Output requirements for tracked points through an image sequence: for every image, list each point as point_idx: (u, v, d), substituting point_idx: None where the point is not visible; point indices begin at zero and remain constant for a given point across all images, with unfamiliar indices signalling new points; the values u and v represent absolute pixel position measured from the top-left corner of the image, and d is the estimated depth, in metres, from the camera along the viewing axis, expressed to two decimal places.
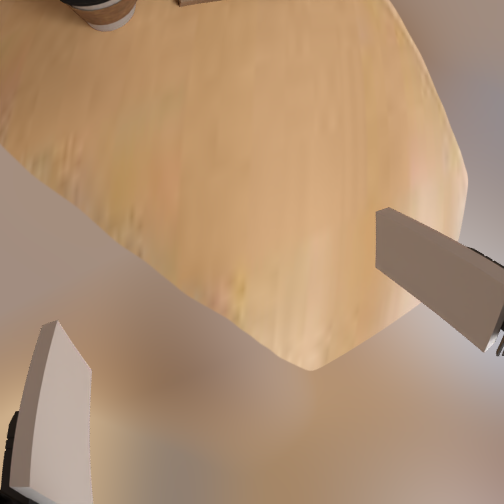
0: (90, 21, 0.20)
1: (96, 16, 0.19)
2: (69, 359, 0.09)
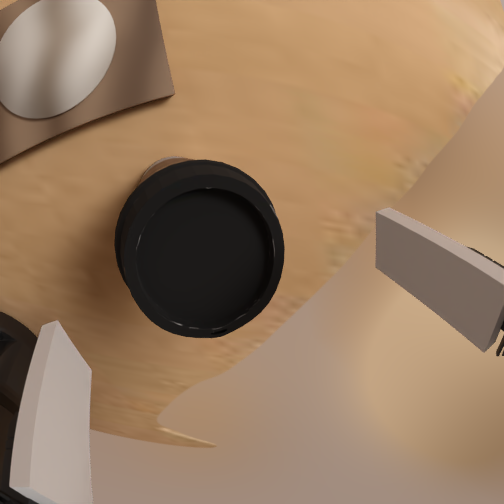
0: None
1: None
2: (69, 359, 0.09)
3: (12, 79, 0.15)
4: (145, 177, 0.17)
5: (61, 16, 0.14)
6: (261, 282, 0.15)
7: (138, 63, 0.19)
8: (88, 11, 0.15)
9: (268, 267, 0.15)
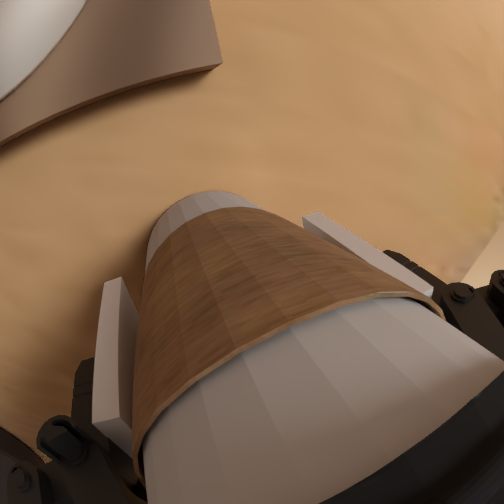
0: None
1: None
2: (132, 313, 0.11)
3: None
4: (178, 320, 0.05)
5: None
6: None
7: None
8: None
9: None
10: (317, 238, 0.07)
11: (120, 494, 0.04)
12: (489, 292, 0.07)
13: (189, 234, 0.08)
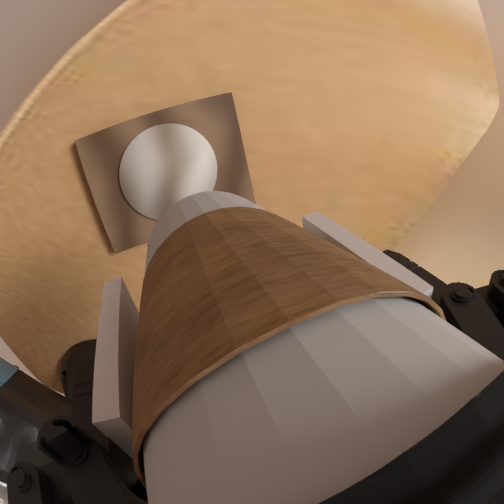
0: None
1: None
2: (132, 312, 0.11)
3: (139, 190, 0.32)
4: (178, 320, 0.05)
5: (174, 144, 0.31)
6: None
7: (232, 184, 0.36)
8: (195, 143, 0.32)
9: None
10: (317, 238, 0.07)
11: (120, 494, 0.04)
12: (489, 292, 0.07)
13: (189, 234, 0.08)
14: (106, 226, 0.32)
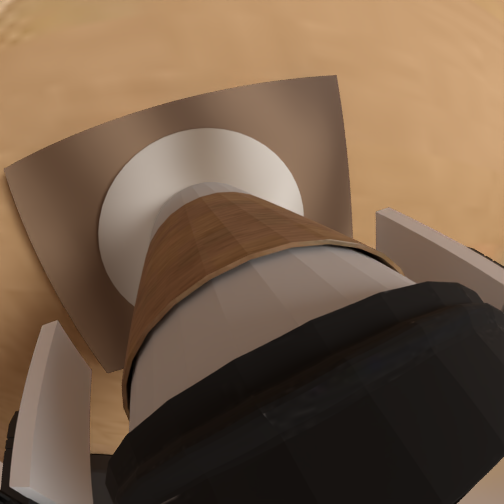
0: None
1: None
2: (69, 359, 0.09)
3: None
4: (168, 268, 0.06)
5: (220, 177, 0.15)
6: None
7: None
8: (264, 175, 0.15)
9: None
10: (293, 212, 0.08)
11: None
12: None
13: (185, 212, 0.10)
14: (85, 334, 0.16)
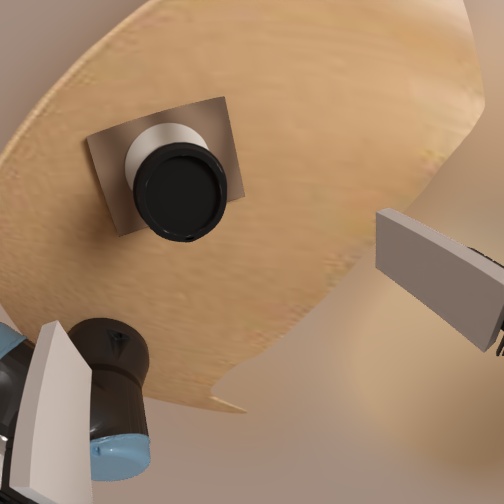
0: None
1: None
2: (69, 359, 0.09)
3: None
4: None
5: (173, 141, 0.35)
6: (215, 210, 0.26)
7: None
8: (191, 140, 0.36)
9: (218, 201, 0.26)
10: None
11: None
12: None
13: None
14: (112, 212, 0.37)
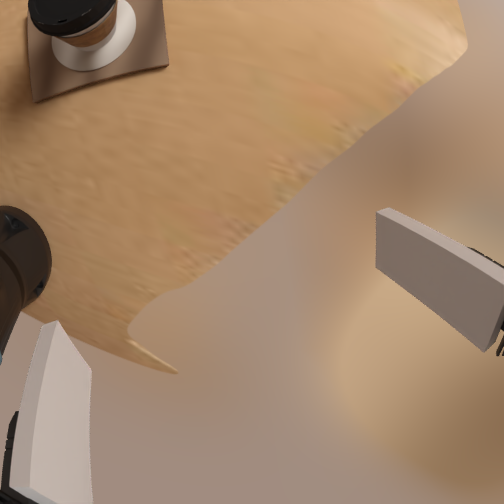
0: (111, 26, 0.23)
1: (116, 10, 0.20)
2: (69, 359, 0.09)
3: (65, 44, 0.25)
4: None
5: None
6: None
7: (148, 43, 0.29)
8: (119, 8, 0.25)
9: None
10: None
11: None
12: None
13: None
14: (32, 77, 0.26)
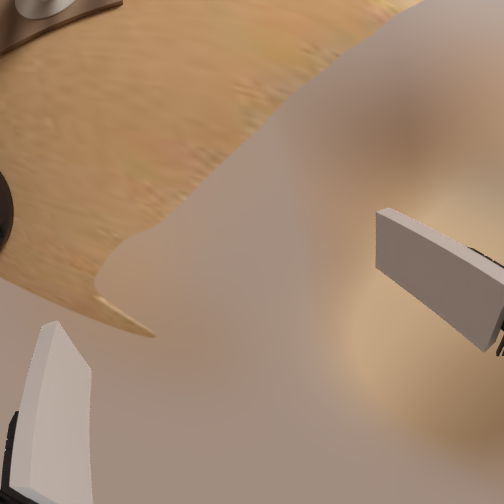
0: None
1: None
2: (69, 359, 0.09)
3: None
4: None
5: None
6: None
7: None
8: None
9: None
10: None
11: None
12: None
13: None
14: None
